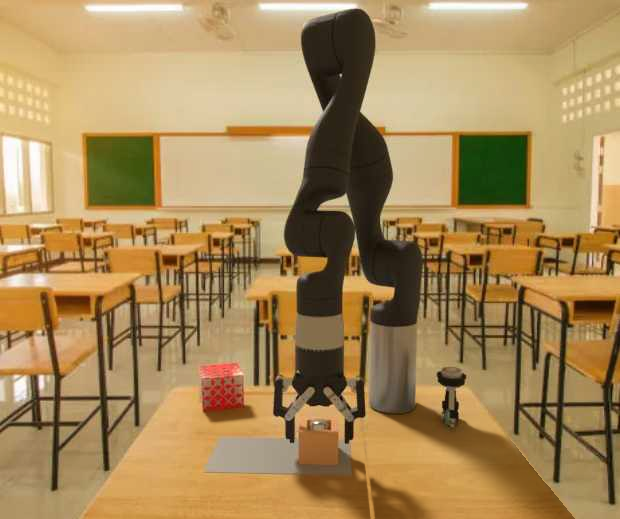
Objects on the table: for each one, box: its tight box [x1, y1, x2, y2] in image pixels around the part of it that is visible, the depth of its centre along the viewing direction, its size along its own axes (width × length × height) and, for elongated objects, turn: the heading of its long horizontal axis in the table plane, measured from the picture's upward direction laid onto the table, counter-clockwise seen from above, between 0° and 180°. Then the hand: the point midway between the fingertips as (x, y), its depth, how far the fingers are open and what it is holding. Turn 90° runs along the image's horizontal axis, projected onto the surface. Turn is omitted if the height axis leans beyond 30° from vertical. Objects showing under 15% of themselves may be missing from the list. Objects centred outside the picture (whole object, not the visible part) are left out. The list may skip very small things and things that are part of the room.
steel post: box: [311, 419, 327, 430], centre depth 88 cm, size 3×3×7 cm
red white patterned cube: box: [198, 362, 245, 411], centre depth 110 cm, size 8×8×8 cm
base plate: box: [203, 436, 353, 477], centre depth 88 cm, size 12×22×2 cm, turn 88°
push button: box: [436, 366, 467, 428], centre depth 103 cm, size 7×5×10 cm
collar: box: [298, 416, 339, 465], centre depth 88 cm, size 6×6×5 cm
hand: (319, 441), depth 88 cm, fingers open, 8 cm apart
